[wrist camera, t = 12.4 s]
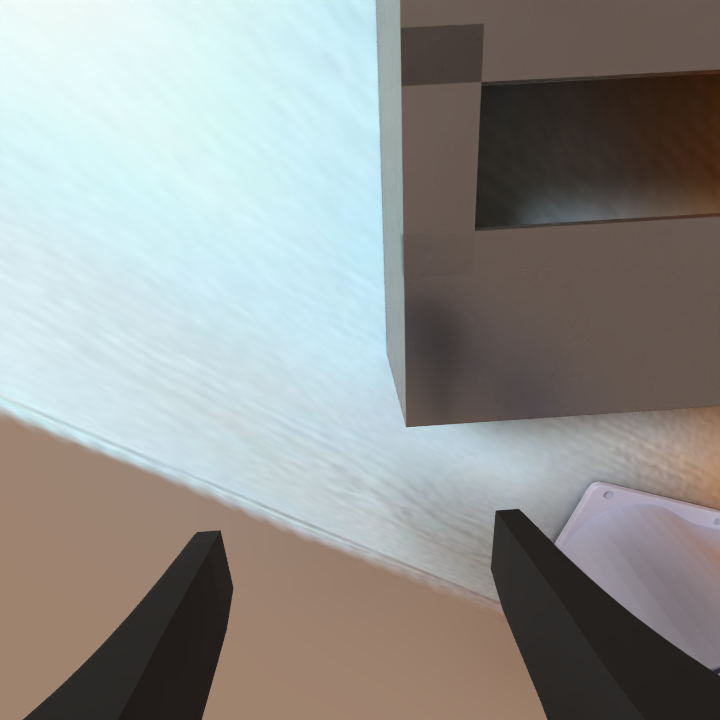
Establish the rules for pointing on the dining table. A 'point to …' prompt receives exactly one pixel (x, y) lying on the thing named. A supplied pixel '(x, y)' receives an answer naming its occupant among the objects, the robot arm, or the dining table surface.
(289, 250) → the dining table surface
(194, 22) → the dining table surface
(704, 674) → the robot arm
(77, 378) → the dining table surface
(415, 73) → the housing
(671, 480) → the dining table surface
